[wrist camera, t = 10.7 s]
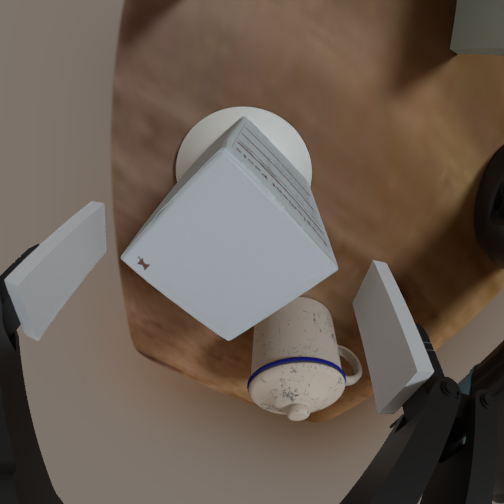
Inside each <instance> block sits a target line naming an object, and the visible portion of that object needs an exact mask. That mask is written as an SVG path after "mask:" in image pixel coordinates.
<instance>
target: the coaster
mask: <svg viewBox="0 0 504 504" xmlns="http://www.w3.org/2000/svg"><path fill="white" fill-rule="evenodd" d="M243 116H245V117H247V118H248V119H249V120H250V121H251V122H252V123H253V124H254V125H255V126H256V127H257V128H258V129H259V130H260V131H261V132H262V133H263V134H264V135H265V136H266V137H267V138H268V139H269V140H270V141H271V142H272V143H273V144H274V145H275V146H276V147H277V148H278V150H279V151H280V152H281V153H282V154H283V155H284V156H285V157H286V158H287V159H288V160H289V161H290V162H291V163H292V164H293V165H294V167H295V168H296V169H297V170H298V171H299V172H300V173H301V174H302V175H303V176H304V177H305V178H306V179H307V181H308V183H309V186H310V185H311V179H312V166H311V160H310V156H309V152H308V150H307V148H306V145H305V143H304V142H303V140H302V138H301V137H300V135H299V134H298V132H297V131H296V130H295V129H294V128H293V127H292V126H291V125H290V124H289V123H288V122H287V121H285V120H284V119H283V118H281V117H280V116H278V115H276V114H274V113H272V112H270V111H267V110H264V109H260V108H256V107H247V106H239V107H231V108H226V109H223V110H220V111H217V112H215V113H213V114H211V115H209V116H207V117H205V118H204V119H202V120H201V121H200V122H198V123H197V124H196V125H195V126H194V127H193V128H192V129H191V130H190V132H189V133H188V134H187V136H186V137H185V139H184V140H183V142H182V144H181V147H180V149H179V152H178V156H177V161H176V179H177V182H178V181H179V180H180V179H181V177H182V176H183V175H184V174H185V173H186V171H187V170H188V169H189V168H190V167H191V166H192V164H193V163H194V162H195V161H196V160H197V159H198V158H199V157H200V156H201V155H202V154H203V153H204V152H205V151H206V150H207V149H208V147H209V146H210V145H212V144H213V143H214V142H215V141H216V140H217V139H218V138H219V137H220V136H221V135H222V134H223V133H224V132H225V131H226V130H228V129H229V128H230V127H231V126H232V125H233V124H234V123H235V122H237V121H238V120H239V119H240V118H241V117H243Z"/></svg>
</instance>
